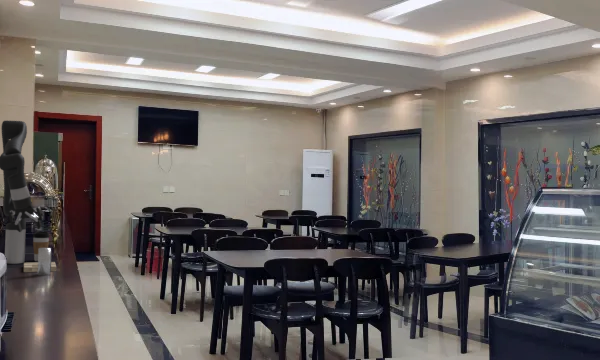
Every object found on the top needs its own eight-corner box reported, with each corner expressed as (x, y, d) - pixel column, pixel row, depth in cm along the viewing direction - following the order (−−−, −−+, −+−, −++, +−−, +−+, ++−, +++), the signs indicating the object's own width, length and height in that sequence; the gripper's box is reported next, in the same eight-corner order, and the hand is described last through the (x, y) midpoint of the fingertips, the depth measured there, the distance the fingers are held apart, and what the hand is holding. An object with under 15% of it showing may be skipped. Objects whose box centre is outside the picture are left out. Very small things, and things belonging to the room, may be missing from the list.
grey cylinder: (39, 275, 259) (40, 249, 259) (36, 274, 263) (37, 248, 263) (52, 274, 263) (53, 248, 263) (48, 273, 267) (49, 247, 267)
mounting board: (23, 266, 284) (24, 262, 284) (54, 266, 290) (54, 262, 290) (23, 272, 267) (23, 267, 267) (56, 271, 273) (56, 267, 273)
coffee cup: (51, 259, 312) (52, 232, 313) (43, 261, 304) (44, 233, 304) (37, 259, 313) (38, 231, 313) (28, 260, 305) (29, 232, 305)
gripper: (39, 192, 266) (48, 225, 270) (8, 197, 265) (17, 229, 269) (33, 196, 258) (42, 230, 263) (1, 201, 258) (11, 235, 262)
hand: (29, 230), depth 266 cm, fingers open, 8 cm apart
